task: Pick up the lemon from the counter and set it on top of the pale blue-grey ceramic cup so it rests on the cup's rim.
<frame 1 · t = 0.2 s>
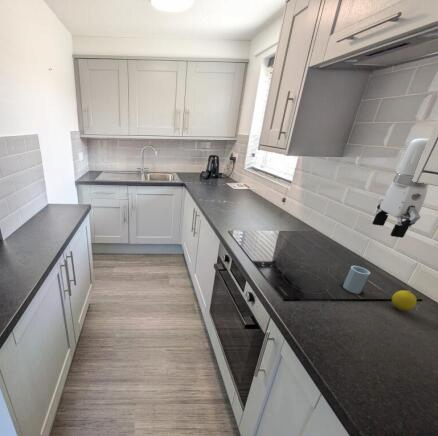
hand: (386, 230, 78), 27 cm above the worktop, tool pointing down, fingers open, 9 cm apart
lemon: (398, 309, 81), on the worktop
cup: (351, 288, 91), on the worktop
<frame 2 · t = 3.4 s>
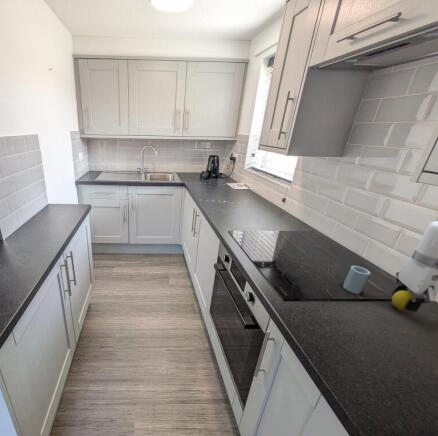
hand: (403, 303, 80), 3 cm above the worktop, tool pointing down, fingers closed on lemon, 5 cm apart
lemon: (398, 309, 81), on the worktop, touching gripper
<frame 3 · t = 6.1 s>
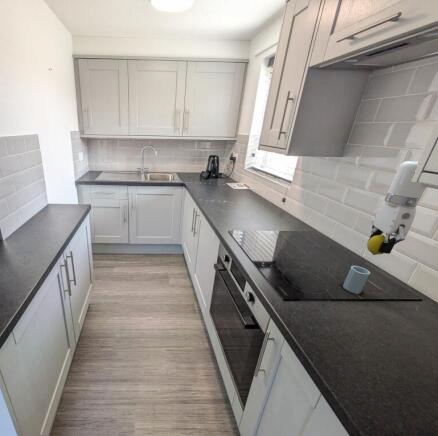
hand: (378, 248, 82), 19 cm above the worktop, tool pointing down, fingers closed on lemon, 5 cm apart
lemon: (373, 255, 83), point 16 cm above the worktop, touching gripper
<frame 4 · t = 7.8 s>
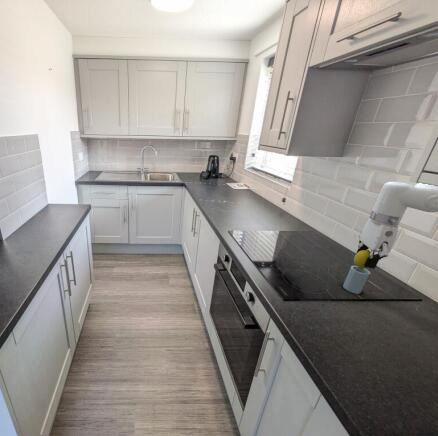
hand: (364, 262, 86), 12 cm above the worktop, tool pointing down, fingers closed on lemon, 5 cm apart
lemon: (359, 269, 87), point 9 cm above the worktop, touching gripper
when the fingers open (11 cm above the worktop, at t = 8.8 s): lemon stays where it is, resting on cup.
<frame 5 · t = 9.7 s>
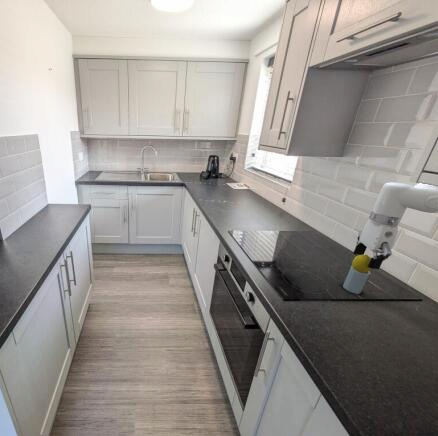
hand: (365, 261, 86), 13 cm above the worktop, tool pointing down, fingers open, 9 cm apart
lemon: (357, 273, 88), point 7 cm above the worktop, touching cup
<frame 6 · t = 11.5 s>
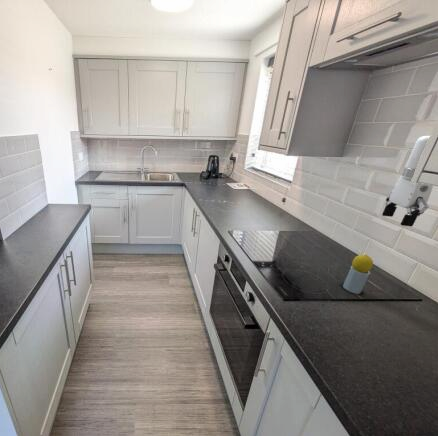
hand: (396, 220, 85), 28 cm above the worktop, tool pointing down, fingers open, 9 cm apart
nothing on the worktop moved.
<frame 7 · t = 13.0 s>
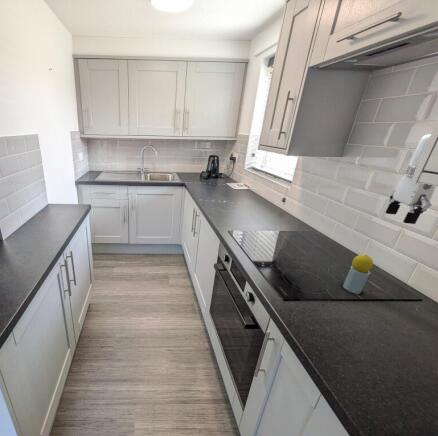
hand: (399, 218, 86), 28 cm above the worktop, tool pointing down, fingers open, 9 cm apart
nothing on the worktop moved.
at the end: lemon 0.3 cm off-centre in the cup, point 7.4 cm above the cup's base; the gripper is holding nothing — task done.
